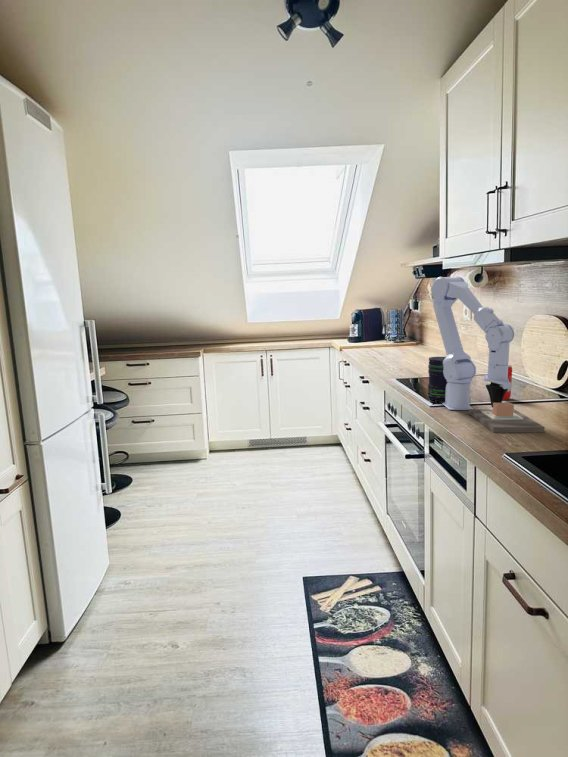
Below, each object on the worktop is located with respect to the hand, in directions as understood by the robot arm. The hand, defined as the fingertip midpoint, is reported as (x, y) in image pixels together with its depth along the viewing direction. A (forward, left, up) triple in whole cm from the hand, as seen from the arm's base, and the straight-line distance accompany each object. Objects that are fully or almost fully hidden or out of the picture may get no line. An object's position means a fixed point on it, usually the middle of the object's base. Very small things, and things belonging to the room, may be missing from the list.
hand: (495, 407), depth 161 cm
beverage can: (-26, +12, -3) cm, 29 cm away
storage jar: (-26, -10, -3) cm, 28 cm away
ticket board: (+7, 0, -3) cm, 7 cm away
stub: (+7, 0, -1) cm, 7 cm away
